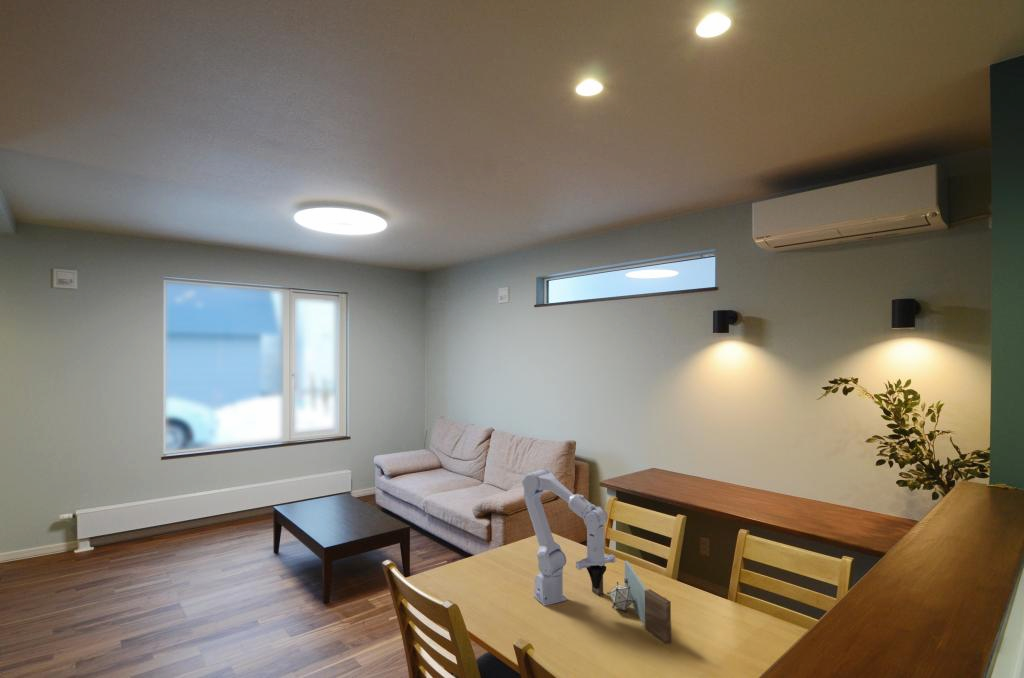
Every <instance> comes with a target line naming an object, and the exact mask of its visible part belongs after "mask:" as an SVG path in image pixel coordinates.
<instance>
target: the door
mask: <svg viewBox="0 0 1024 678" xmlns="http://www.w3.org/2000/svg"><path fill="white" fill-rule="evenodd" d="M623 582H624V586H625V587H627V588H629V587H630V586H631V587H630V588H629V589H630V592H631V595H632V597H633V600H634V601H635V602H633V603H632V604H631V605H632V606H633V609H634V610H635V613H636V614H637V615H638V618H639V619H640V620H641V622H642V624H643V626H644V627H645V590H648V589H647V588H646V586H645V585H644V583H643V582H642V580H641V579H640V577H639V576H638V574H637V573H636V571H635V569H634V568H633V566H632V565H631V563H630V562H629V561H628V560H624V579H623Z"/></svg>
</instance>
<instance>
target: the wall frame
mask: <svg viewBox="0 0 1024 678" xmlns="http://www.w3.org/2000/svg"><path fill="white" fill-rule="evenodd" d="M591 592H592V593H594V594H595V595H596V596H598V597H600V596H603V595H604V576H603V577H602V579H601V583H600V587H599V588H598V589H595V588H594V587H593V586H592V585H591ZM671 602H672V601H671V600H668V599H667V598H666V597H664V596H662V595H660V594H659V593H657V592H655V591H654V590H652V589H651V588H649V589H647V590H645V626H644V629H645V630H646V631H647V632H648V633H650V634H651V635H652V636H654V637H655V638H656V639H658V640H659V641H660V642H662V643H663V644H664V645H669V644H672V617H671V616H672V614H671V613H672V611H671V607H672V606H671V605H672V604H671Z"/></svg>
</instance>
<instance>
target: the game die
mask: <svg viewBox="0 0 1024 678" xmlns="http://www.w3.org/2000/svg"><path fill="white" fill-rule="evenodd" d="M630 587H631V586H630ZM630 587H629V588H630ZM629 588H627V587H625V585H621V584H619V582H618V581H616V585H615V587H613V589H611V591H609V592H606V594H607V595H609V597H610V600H611V603H612V607H611V608H612V609H615V608H616V609H619V610H622V611H624V614H627V611H626V610H627V609H628V608H629V607H630V606H631V605H632V603H633V602H635V601H634V600H633V597H632V595H631V592H630V589H629Z"/></svg>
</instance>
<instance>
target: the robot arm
mask: <svg viewBox="0 0 1024 678" xmlns="http://www.w3.org/2000/svg"><path fill="white" fill-rule="evenodd" d="M521 483H522V487H523V499H524V502H525V505H526V509H527V511H528V514H529V518H530V520H531V524H532V527H533V530H534V534H535V537H536V539H537V540H536V541H537V542H538V545H539V546H538V547H539V548H538V549H537V553H536V557H537V567H538V570H539V572H540V573H539V574H536V575H535V577H534V594H533V597H534V598H535V599H536V600H537V601H538V602H539V603H540V604H542V605H543V606H544V607H545V606H550V605H554V604H558V603H562V602H565V601H568V597H566V595H564V593H563V591H564V590H563V588H564V585H563V583H564V582H563V581H564V580H563V575H564V574H563V572H564V567H565V565H566V564H567V556H566V554H565V552H564V551H563V550H562V547H561V545H560V544H559V543H557V542H556V541H555V540H554V536H553V534H552V530H551V528H550V524H549V521H548V519H547V515H546V512H545V510H544V507H543V503H542V500H541V496H542V495H543V493H544V491H550V492H552V493H553V494H555V495H556V496H558V497H559V498H560V499H562V500H563V501H565V502H567V505H568V508H569V509H570V510H571V511H572V512H573V513H575V514H576V515H577V516H579V518H581V519H583V522H584V525H585V527H586V532H587V533H586V536H587V537H586V557H585V558H583V559H581V560H578V561H575V568H576V570H579V571H581V570H582V569H586V570H587V572H588V574H589V578H590V581H591V587H592V586H593V587H594V588H595V589H598V588H599V587H600V583H601V579H602V577H603V578H604V575H605V572H606V571H607V566H606V564H608V563H616V556H615V555H614V554H606V553H605V548H606V547H605V546H606V544H605V541H606V539H605V524H606V523H607V521H608V513H607V511H606V510H605V509H604V508H603V507H602V506H596V505H595V504H593V503H592V502H590V501H589V500H587V499H586V498H585V496H584V495H583V494H579V493H576V494H574V493H573V492H572V491H571V490H569V489H568V488H567V487H566V486H565V485H564V484H562V482H560V481H559V480H558V479H557V478H556V477H555V475H554V474H553V473H552V472H550V471H549V470H548V469H545V468H541V469H540V470H539V469H538V470H536V471H533V472H528V473H526V474H525V475H524V477H523V480H522V481H521Z"/></svg>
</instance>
